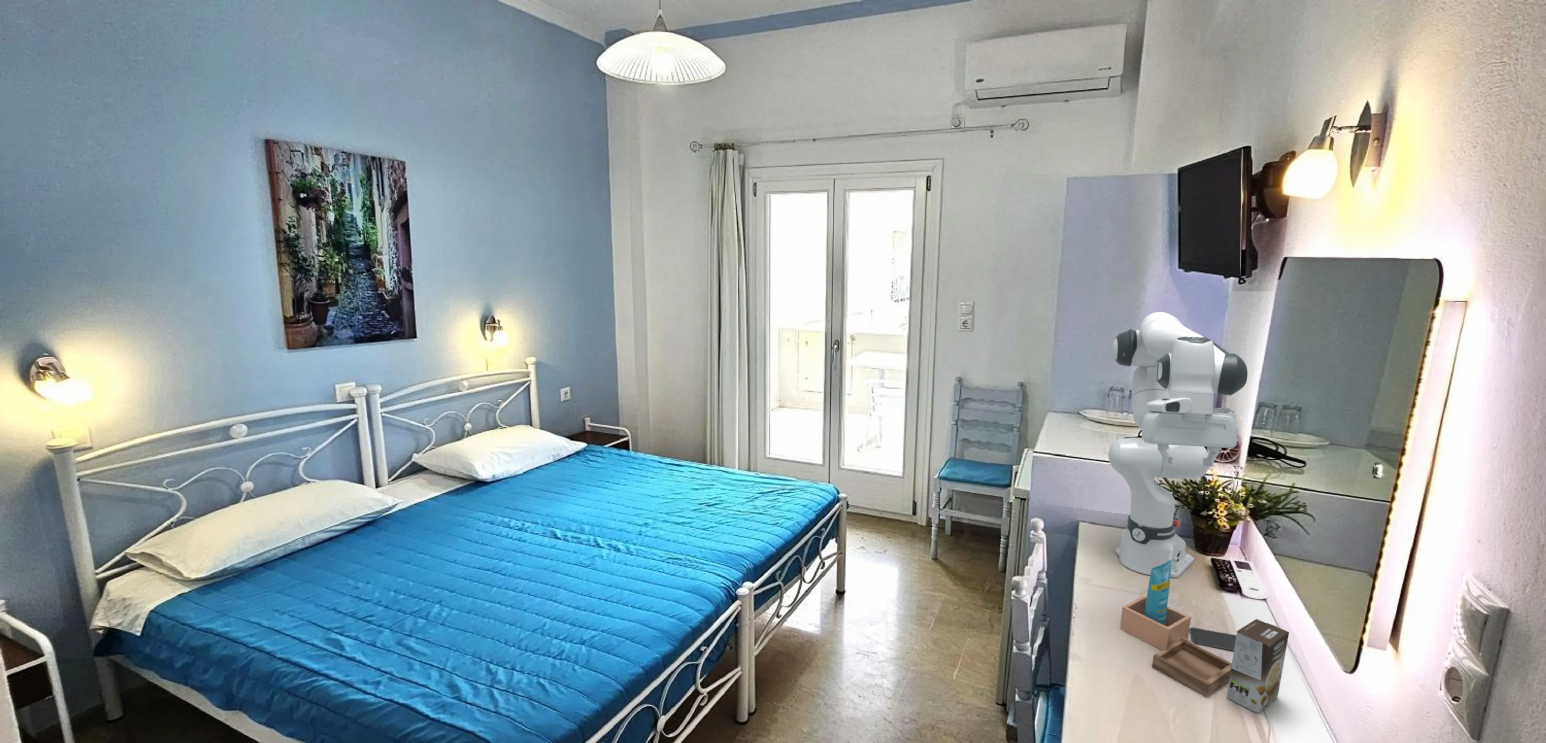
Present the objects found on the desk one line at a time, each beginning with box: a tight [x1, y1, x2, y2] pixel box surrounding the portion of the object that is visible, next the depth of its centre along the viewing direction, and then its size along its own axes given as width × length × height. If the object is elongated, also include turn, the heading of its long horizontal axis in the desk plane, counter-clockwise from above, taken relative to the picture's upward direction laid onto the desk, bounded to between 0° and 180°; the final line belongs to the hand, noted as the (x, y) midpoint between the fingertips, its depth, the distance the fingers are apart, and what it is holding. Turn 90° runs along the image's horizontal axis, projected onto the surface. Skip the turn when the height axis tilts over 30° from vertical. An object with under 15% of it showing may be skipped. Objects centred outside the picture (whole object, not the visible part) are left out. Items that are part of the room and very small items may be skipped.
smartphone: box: [1189, 626, 1237, 653], centre depth 164 cm, size 7×1×15 cm
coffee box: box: [1226, 618, 1290, 714], centre depth 144 cm, size 9×6×16 cm
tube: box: [1144, 560, 1172, 626], centre depth 166 cm, size 7×5×19 cm, turn 123°
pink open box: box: [1119, 595, 1192, 651], centre depth 168 cm, size 10×12×6 cm
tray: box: [1151, 638, 1232, 698], centre depth 154 cm, size 12×12×3 cm
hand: (1187, 465), depth 157 cm, fingers open, 8 cm apart
